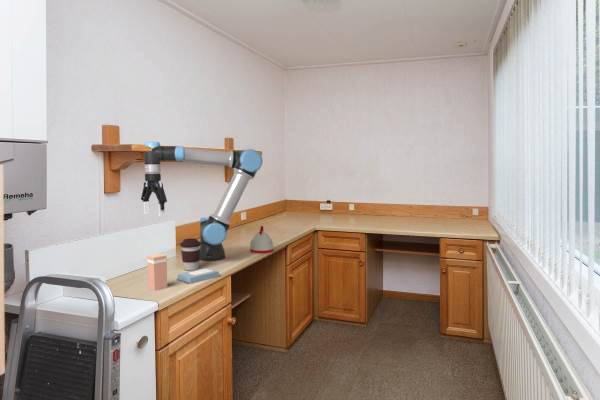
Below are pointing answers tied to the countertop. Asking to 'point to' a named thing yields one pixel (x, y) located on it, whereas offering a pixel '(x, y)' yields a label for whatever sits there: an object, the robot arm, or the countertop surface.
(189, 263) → the coffee cup
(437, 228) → the countertop surface
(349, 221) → the countertop surface
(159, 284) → the pink rectangular box
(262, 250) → the grey dome
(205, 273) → the board
